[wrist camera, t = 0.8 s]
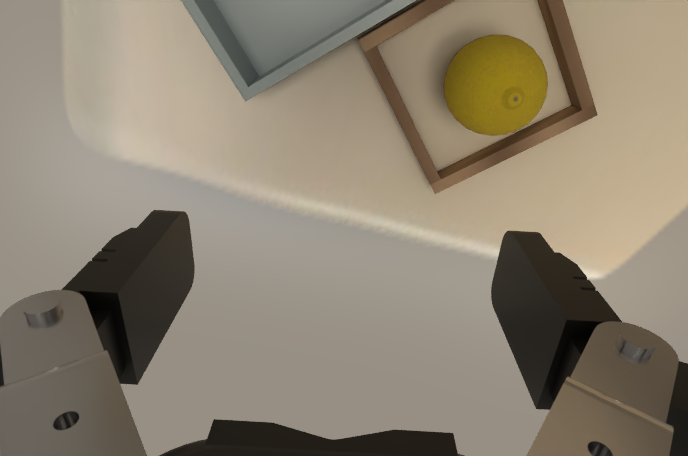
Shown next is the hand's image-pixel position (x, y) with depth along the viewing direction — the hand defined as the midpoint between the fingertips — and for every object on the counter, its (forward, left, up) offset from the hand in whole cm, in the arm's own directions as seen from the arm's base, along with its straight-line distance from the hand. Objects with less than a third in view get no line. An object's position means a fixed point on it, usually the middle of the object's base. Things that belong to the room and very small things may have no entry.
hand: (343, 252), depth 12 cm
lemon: (-8, +3, -22) cm, 24 cm away
